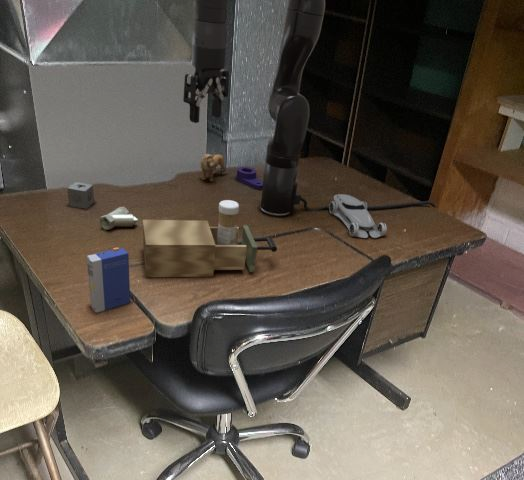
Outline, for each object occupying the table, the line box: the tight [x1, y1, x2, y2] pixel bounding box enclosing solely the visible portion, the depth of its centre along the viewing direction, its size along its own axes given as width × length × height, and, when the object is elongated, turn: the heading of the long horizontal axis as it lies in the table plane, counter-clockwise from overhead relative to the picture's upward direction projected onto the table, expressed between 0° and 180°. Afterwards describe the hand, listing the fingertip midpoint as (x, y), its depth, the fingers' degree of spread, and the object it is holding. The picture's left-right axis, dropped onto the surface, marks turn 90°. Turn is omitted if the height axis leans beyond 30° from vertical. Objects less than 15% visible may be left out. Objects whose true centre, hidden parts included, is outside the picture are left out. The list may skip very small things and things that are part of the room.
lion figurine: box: [200, 153, 226, 182], centre depth 180 cm, size 15×5×9 cm, turn 162°
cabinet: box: [142, 219, 215, 278], centre depth 132 cm, size 15×13×8 cm
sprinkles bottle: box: [217, 199, 240, 245], centre depth 132 cm, size 5×5×13 cm
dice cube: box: [66, 181, 95, 210], centre depth 153 cm, size 5×5×5 cm
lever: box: [236, 166, 263, 191], centre depth 182 cm, size 12×6×3 cm, turn 36°
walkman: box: [86, 247, 131, 313], centre depth 113 cm, size 8×3×12 cm, turn 130°
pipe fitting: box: [99, 206, 139, 231], centre depth 145 cm, size 8×4×7 cm
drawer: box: [209, 224, 278, 273], centre depth 135 cm, size 20×12×6 cm, turn 102°
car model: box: [328, 193, 388, 239], centre depth 165 cm, size 11×24×5 cm, turn 15°
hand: (205, 119), depth 135 cm, fingers open, 8 cm apart
